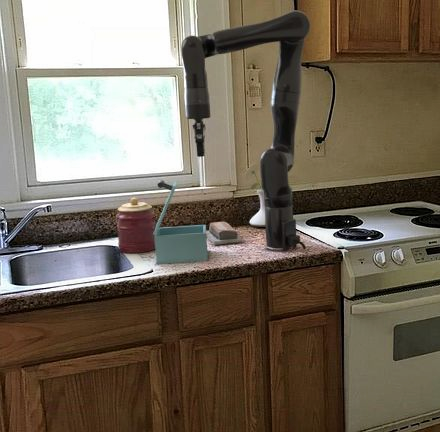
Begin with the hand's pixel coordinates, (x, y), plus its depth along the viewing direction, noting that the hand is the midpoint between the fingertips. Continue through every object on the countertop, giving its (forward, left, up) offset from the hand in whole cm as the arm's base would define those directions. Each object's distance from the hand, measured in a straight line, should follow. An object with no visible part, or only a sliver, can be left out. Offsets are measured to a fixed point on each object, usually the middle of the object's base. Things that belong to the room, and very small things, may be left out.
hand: (200, 155), depth 201 cm
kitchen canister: (+26, +7, -32) cm, 42 cm away
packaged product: (+10, -18, -32) cm, 38 cm away
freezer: (+4, +7, -32) cm, 33 cm away
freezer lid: (+7, +10, -16) cm, 20 cm away
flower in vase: (+11, -41, -32) cm, 53 cm away
